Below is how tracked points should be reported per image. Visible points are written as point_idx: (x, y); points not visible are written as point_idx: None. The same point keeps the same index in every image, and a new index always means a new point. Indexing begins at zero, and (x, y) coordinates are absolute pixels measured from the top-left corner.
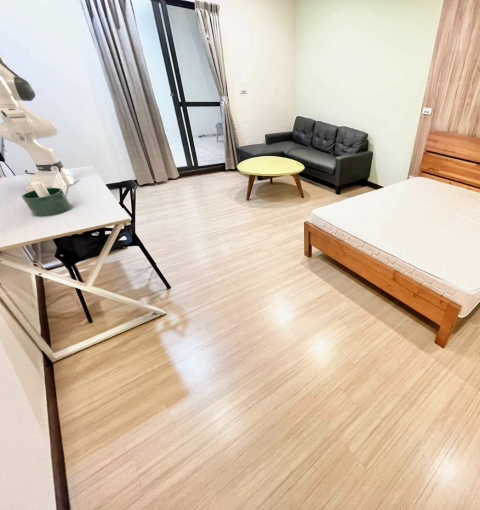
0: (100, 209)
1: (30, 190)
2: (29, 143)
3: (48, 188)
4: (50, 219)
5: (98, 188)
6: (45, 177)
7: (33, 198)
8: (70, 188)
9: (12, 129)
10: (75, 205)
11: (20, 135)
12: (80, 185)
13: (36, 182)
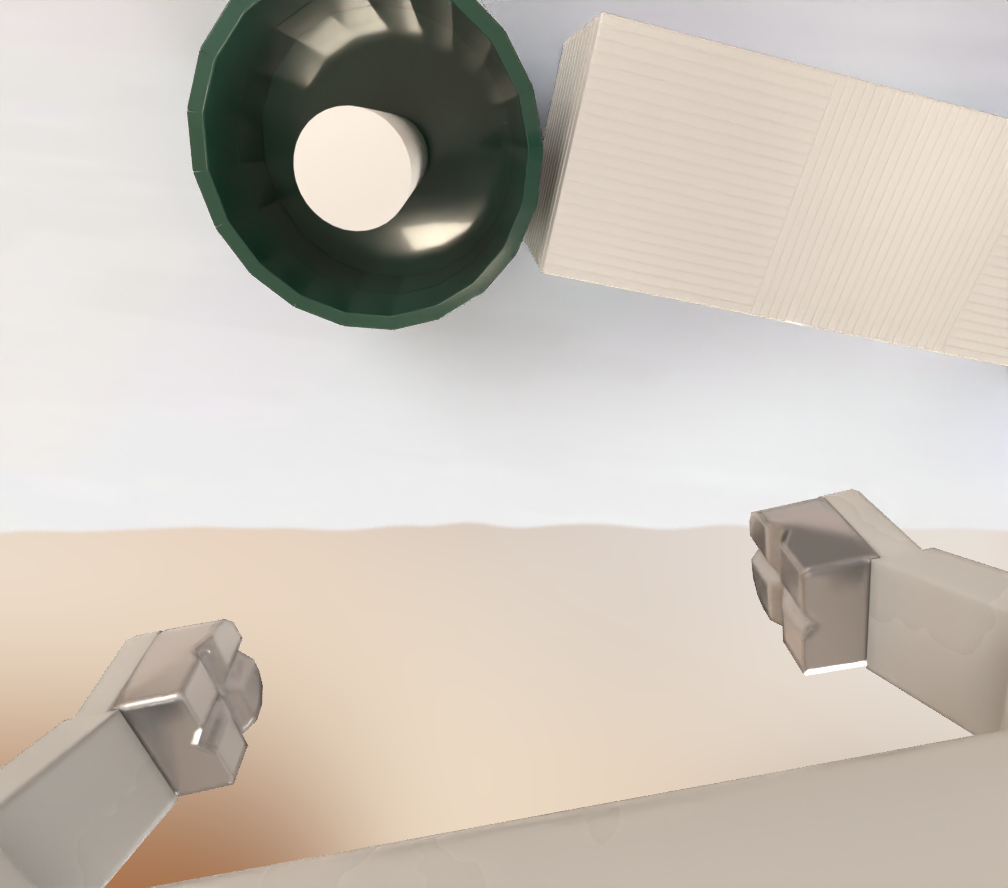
0: (186, 438)
1: (587, 59)
2: (131, 647)
3: (511, 229)
4: (154, 102)
5: (719, 504)
6: (934, 254)
7: (202, 56)
8: None
9: (909, 858)
10: None
11: (915, 650)
12: (918, 416)
13: (355, 172)
